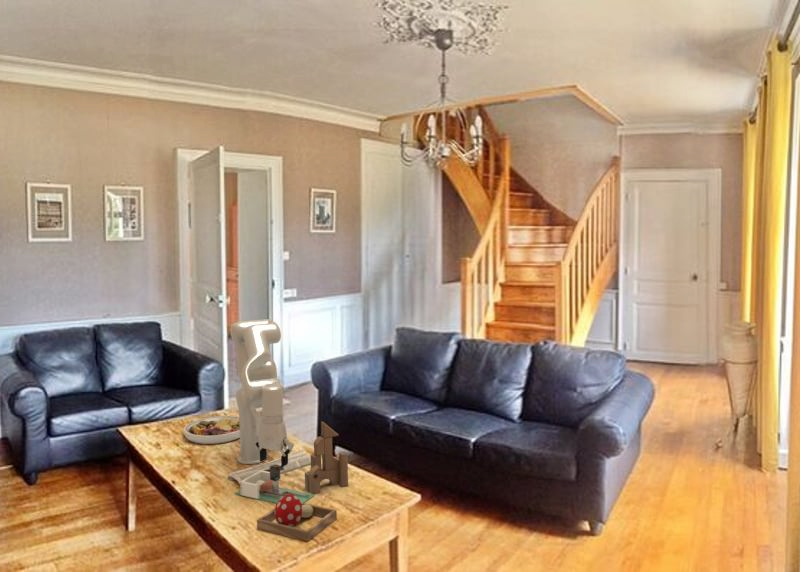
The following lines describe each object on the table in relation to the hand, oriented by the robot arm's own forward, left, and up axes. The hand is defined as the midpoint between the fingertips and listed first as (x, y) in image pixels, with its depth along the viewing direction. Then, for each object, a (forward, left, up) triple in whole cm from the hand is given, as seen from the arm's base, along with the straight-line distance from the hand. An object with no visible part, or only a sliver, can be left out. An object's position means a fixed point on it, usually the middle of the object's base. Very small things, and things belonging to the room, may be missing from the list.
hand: (273, 462), depth 232 cm
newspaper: (-18, -15, -13) cm, 27 cm away
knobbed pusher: (+1, +1, -12) cm, 12 cm away
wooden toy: (-13, +14, -12) cm, 23 cm away
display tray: (+16, +21, -12) cm, 29 cm away
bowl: (-42, -67, -13) cm, 80 cm away
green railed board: (+1, 0, -12) cm, 12 cm away
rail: (+1, +5, -12) cm, 13 cm away
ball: (+1, -6, -10) cm, 11 cm away
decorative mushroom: (+16, +21, -12) cm, 29 cm away
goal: (+1, -7, -12) cm, 14 cm away
